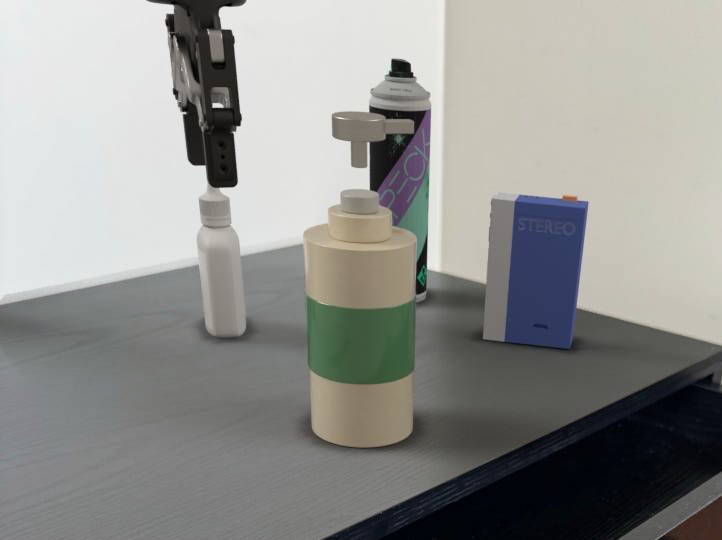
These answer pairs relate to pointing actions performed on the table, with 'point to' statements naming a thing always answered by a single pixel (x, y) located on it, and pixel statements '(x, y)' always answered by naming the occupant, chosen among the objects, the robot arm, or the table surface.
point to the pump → (366, 131)
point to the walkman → (534, 269)
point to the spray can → (404, 159)
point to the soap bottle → (360, 323)
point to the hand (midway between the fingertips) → (212, 175)
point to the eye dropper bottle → (220, 267)
